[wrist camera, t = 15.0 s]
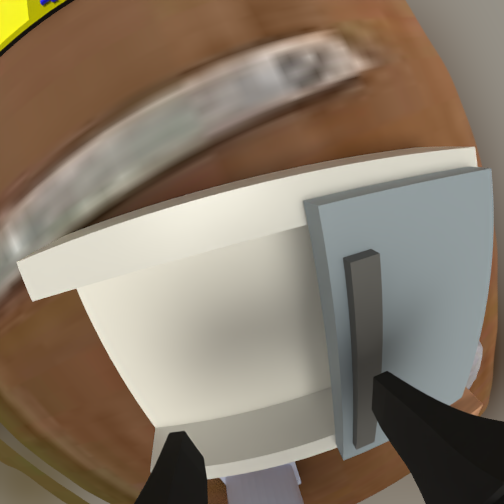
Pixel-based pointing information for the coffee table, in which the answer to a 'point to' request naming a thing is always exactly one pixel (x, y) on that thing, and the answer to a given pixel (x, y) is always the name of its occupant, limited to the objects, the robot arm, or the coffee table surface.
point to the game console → (23, 18)
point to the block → (468, 403)
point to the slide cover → (401, 289)
